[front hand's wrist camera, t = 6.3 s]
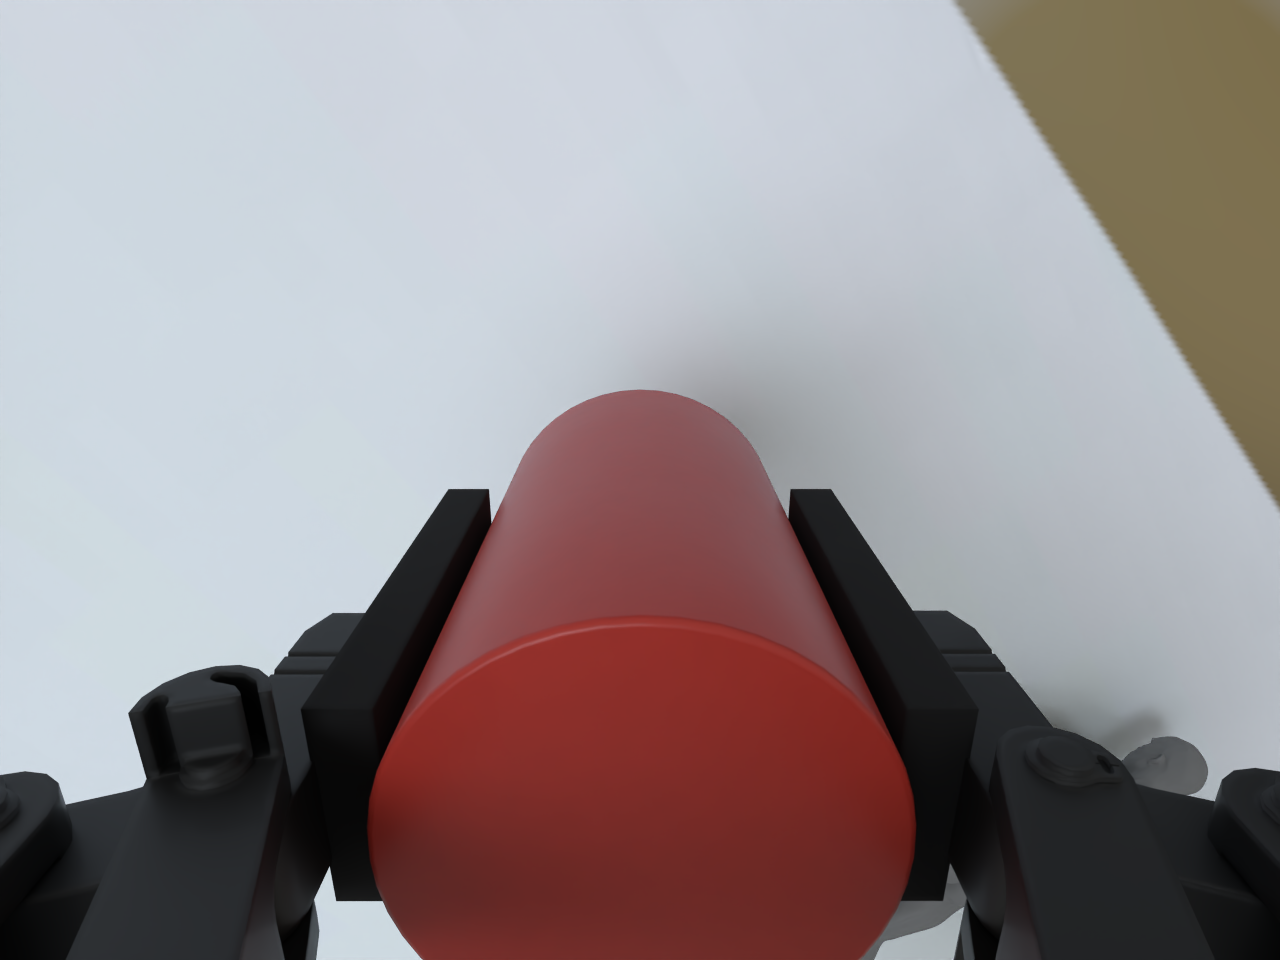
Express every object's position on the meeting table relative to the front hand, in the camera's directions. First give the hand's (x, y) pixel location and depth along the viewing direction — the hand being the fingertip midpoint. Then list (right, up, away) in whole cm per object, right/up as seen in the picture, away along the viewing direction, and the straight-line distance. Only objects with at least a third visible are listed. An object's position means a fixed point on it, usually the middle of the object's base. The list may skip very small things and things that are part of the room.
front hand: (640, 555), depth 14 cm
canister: (0, +1, +2) cm, 2 cm away
